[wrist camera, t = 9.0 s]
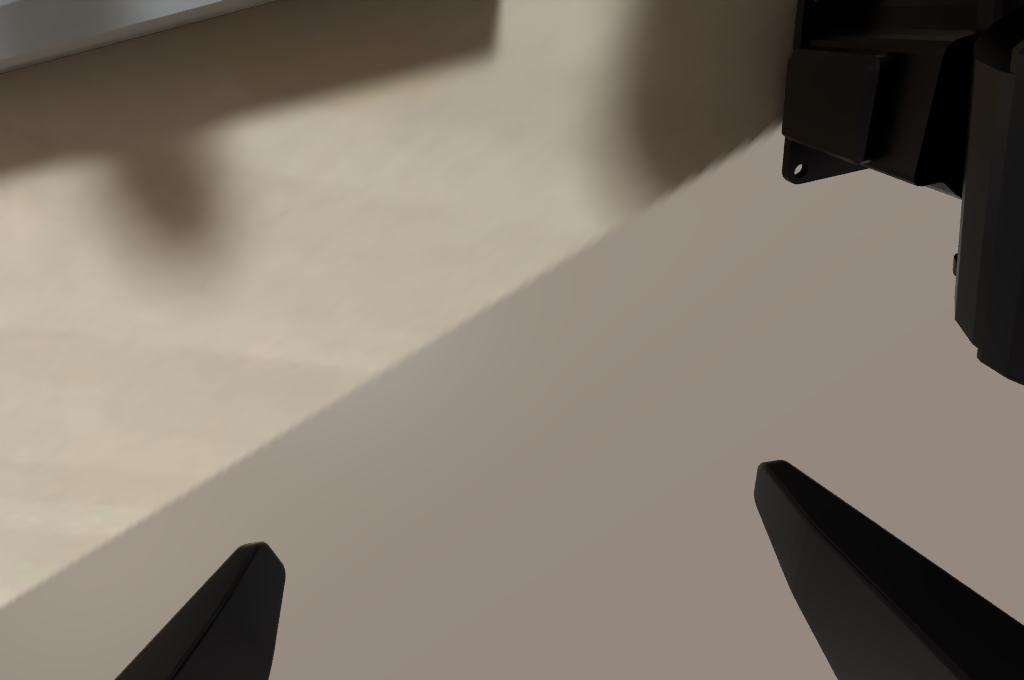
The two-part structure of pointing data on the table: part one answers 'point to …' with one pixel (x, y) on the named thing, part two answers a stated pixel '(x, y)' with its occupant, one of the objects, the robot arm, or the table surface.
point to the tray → (93, 24)
